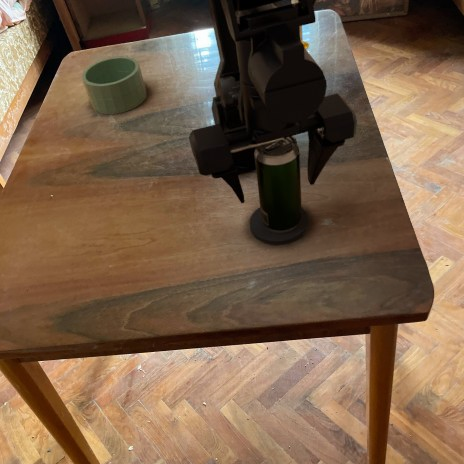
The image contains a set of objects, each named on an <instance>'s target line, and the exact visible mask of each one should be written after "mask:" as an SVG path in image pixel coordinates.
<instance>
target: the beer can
mask: <svg viewBox="0 0 464 464" xmlns="http://www.w3.org/2000/svg"><path fill="white" fill-rule="evenodd" d="M255 148H256V149H255V152H254V156H255V165H256V170H255V173H256V182H257V191H258V199H259V208H260V209H261V218H262V222H263V224H264V225H265V226H266V228H267V229H268V230H270V231H272V232H275V233H286V232H289V231H292V230H293V229H295V228H296V227H297V226H298V224H299V222H300V221H301V217H302V208H303V207H302V182H301V152H300V146H299V144H298V140H297V137H295V135H294V136H290V137H286V138H284V139H283V140H280V141H276V142H272V143H268V144H265V145H261V146H257V147H255ZM301 207H302V208H301Z"/></svg>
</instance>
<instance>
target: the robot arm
mask: <svg viewBox="0 0 464 464" xmlns="http://www.w3.org/2000/svg"><path fill="white" fill-rule="evenodd" d="M284 1H285V0H207V3H208V8H209V13H210V18H211V22H212V23H211V24H212V27H213V31H214V36H215V37H214V38H215V42H216V47H217V51H218V56H219V63H218V67H217V71H216V74H215V76H214V77H215V78H214V80H213V87H214V88H213V89H214V93H215V96H213V97H212V102H211V112H212V117H213V122H214V124H212V125H208V126H204V127H200V128H196V129H193V130H191V133H190V134H189V136H188V140H189V144H190V148H191V153H192V155H193V158H194V161H195V164H196V167H197V170H198V173H199V175H201V176H205V177H207V176H210V175H211V177H212V178H213V179H222V180H223V181H224V182H225V183H226V184H227V185H228V186H229V187H230V188H231V190H232V191H233V193H234V195H235V196H236V197H237V199H238V200H239V202H240V204H244V203H245V193H244V191H243V187H242V184H241V180H240V177H239V176H240V175H242V174H246V173H251V172H256V165H255V156H254V152H255V149H256V148H255V147H257V146H261V145H265V144H268V143H272V142H276V141H280V140H283V139H284V138H286V137H290V136H294V137H295V136H297V135H301V134H305V133H307V137H308V147H307V148H308V149H307V167H306V170H307V171H306V172H307V181H308V184H309V185H310V186H313V185H315V183H316V181H317V179H318V178H319V176H320V174H321V173H322V171H323V169H324V168H325V166H326V164H327V163H328V161H329V160H330V159H331V158H332V156H333V155H334V153H335V152H336V151H337V149H338V148H341V147H342V146H344V145H345V144H346V140H349V139H353V138H355V136H356V135H357V130H358V129H357V128H358V119H357V115H356V113H355V112H354V110H353V109H352V107H351V106H350V105H349V104H348V102H347V101H346V100H345V99H344V97H343V96H342V95H340V94H339V92H338V93H337V92H336V93H333V94H329V95H326V94H327V87H328V85H327V79H326V76H325V74H324V71H323V70H322V68H321V67H320V66H319V65H318V63H317V62H316V61H315V58H313V56H312V55H311V54H310V52H309V51H308V49H305V47H304V45H303V43H302V42H301V39H300V26H302V27H303V26H306V25H310V24H315V23H316V20H317V19H316V18H317V17H316V13H315V8H314V7H315V5H316V3H317V0H298V2H299V3H293V4H292V3H289V4H286V5H282V6H279V7H276V6H275V5H273V4H272V3H276V2H284Z"/></svg>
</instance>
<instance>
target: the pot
mask: <svg viewBox="0 0 464 464" xmlns="http://www.w3.org/2000/svg"><path fill="white" fill-rule="evenodd" d="M81 78H82V79H81V80H82V83H83V85H84V88H85V91H86V95H87V96H88V100H89V102H90V104H91V105H90V106H92V109H93V110H94V111H95V112H97V113H100V114H102V115H117V114H121V113H125V112H128V111H131V110H133V109H135V108H137V107H138V106H140V105H142V103H143V102H144V101H145V100H146V98H147V95H148V93H147V88H146V84H145V81H144V78H143V73H142V71H141V67H140V63H139V61H138V60H137V59H135V57H130V56H125V55H123V56H122V55H121V56H111V57H107V58H103V59H101V60H98V61H96V62H94V63H92V64H91V65H89V66H88V67H87V68H86V69H85V70H84V71H83V72H82V74H81Z"/></svg>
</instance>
